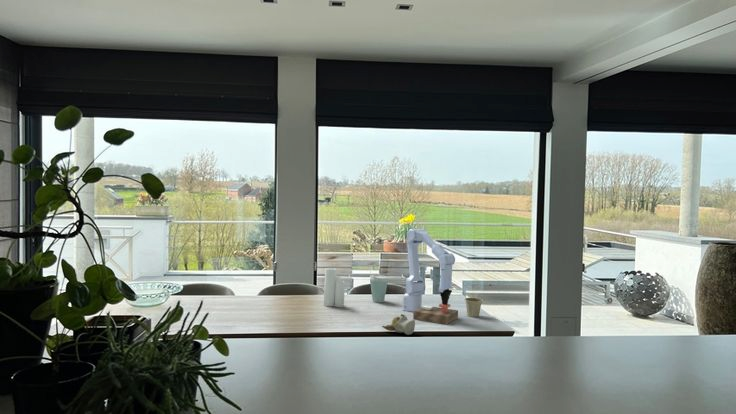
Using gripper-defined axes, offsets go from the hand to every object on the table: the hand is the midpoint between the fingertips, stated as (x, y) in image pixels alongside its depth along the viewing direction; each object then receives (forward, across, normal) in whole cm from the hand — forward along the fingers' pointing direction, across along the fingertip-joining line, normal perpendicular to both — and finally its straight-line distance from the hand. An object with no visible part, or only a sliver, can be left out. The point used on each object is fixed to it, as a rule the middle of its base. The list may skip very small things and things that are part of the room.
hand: (444, 304), depth 279 cm
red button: (+5, 0, 0) cm, 5 cm away
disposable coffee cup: (+8, +18, +46) cm, 50 cm away
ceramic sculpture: (+8, -35, +8) cm, 37 cm away
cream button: (+8, 0, +9) cm, 12 cm away
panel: (+8, 0, +4) cm, 9 cm away
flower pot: (+8, +18, -10) cm, 22 cm away
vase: (+8, -6, +62) cm, 62 cm away
